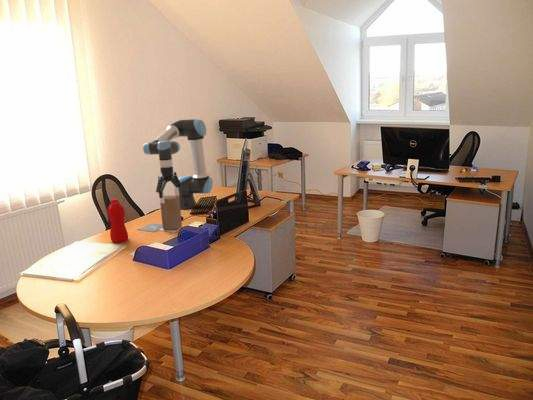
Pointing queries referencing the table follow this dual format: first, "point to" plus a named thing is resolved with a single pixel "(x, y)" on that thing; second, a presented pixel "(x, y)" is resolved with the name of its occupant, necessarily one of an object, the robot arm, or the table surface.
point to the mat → (171, 230)
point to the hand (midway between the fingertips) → (170, 200)
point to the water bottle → (117, 221)
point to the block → (171, 213)
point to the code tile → (152, 227)
